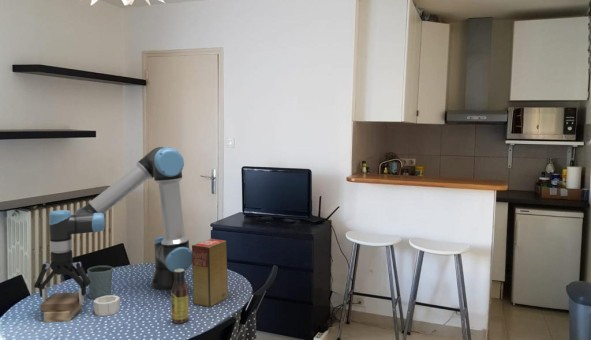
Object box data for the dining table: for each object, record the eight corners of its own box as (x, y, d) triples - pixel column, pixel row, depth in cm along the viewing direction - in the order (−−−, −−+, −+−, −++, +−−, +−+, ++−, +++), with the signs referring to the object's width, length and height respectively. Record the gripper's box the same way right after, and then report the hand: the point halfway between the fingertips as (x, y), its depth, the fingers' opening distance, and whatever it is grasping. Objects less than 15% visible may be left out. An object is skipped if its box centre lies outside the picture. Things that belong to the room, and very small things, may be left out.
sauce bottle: (173, 317, 176) (172, 267, 174) (189, 317, 176) (189, 266, 175) (170, 324, 169) (169, 272, 168) (187, 324, 170) (186, 272, 168)
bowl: (121, 306, 186) (121, 294, 186) (115, 315, 177) (115, 303, 177) (99, 307, 185) (98, 295, 185) (91, 316, 176) (91, 304, 176)
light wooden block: (82, 307, 186) (81, 298, 186) (69, 321, 172) (68, 312, 172) (59, 307, 185) (58, 299, 185) (44, 322, 171) (43, 313, 171)
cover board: (85, 299, 185) (84, 292, 184) (74, 311, 173) (73, 303, 173) (53, 300, 183) (53, 293, 183) (40, 312, 171) (40, 304, 171)
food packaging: (211, 293, 202) (210, 238, 200) (228, 297, 198) (228, 240, 195) (191, 303, 190) (190, 244, 188) (210, 307, 186) (209, 247, 184)
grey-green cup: (84, 295, 199) (83, 268, 198) (107, 289, 206) (106, 263, 205) (94, 301, 192) (93, 273, 191) (117, 295, 199) (116, 268, 198)
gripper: (97, 247, 181) (99, 299, 183) (31, 248, 179) (34, 301, 180) (91, 252, 174) (93, 306, 176) (22, 253, 171) (25, 308, 173)
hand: (63, 304), depth 178 cm, fingers open, 13 cm apart
